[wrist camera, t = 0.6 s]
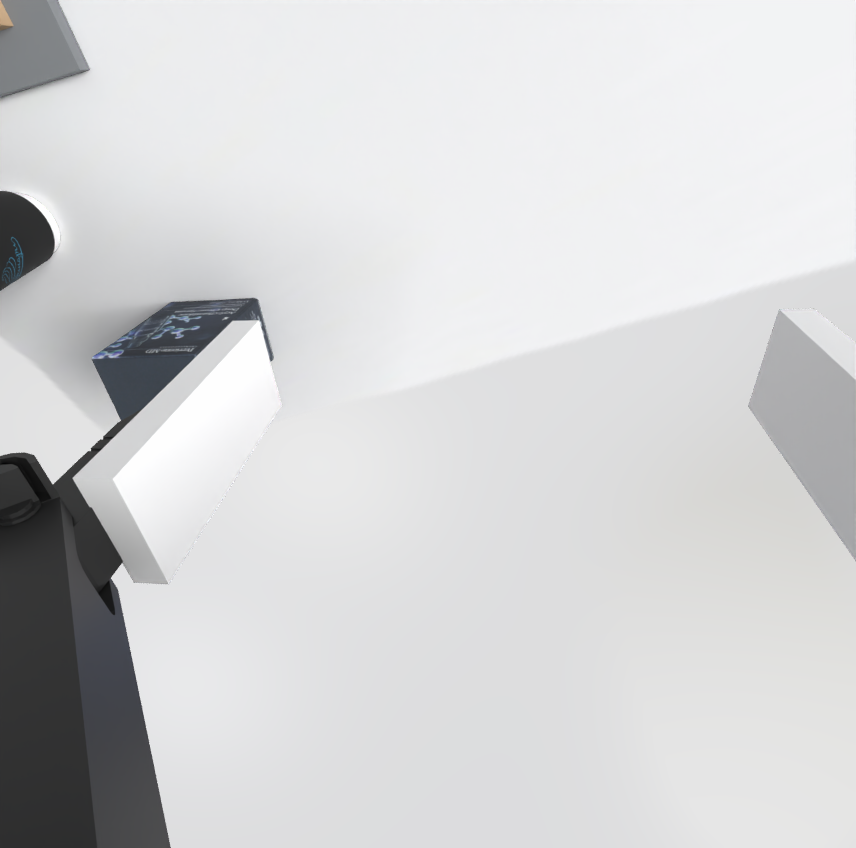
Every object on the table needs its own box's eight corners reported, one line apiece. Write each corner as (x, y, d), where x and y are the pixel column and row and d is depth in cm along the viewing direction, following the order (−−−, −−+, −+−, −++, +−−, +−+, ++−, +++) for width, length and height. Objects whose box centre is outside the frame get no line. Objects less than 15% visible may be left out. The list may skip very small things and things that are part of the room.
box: (258, 295, 43) (195, 354, 34) (275, 358, 46) (222, 427, 37) (169, 299, 44) (86, 358, 35) (192, 360, 47) (121, 428, 38)
